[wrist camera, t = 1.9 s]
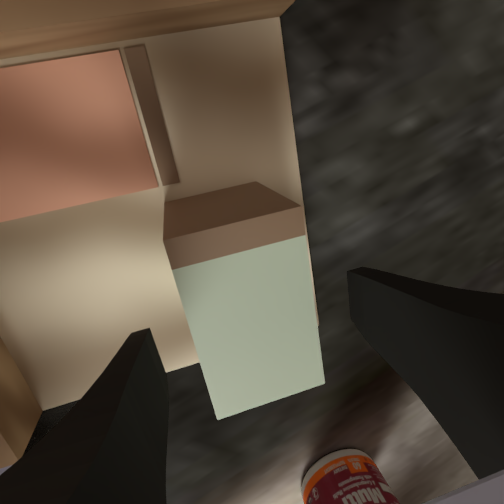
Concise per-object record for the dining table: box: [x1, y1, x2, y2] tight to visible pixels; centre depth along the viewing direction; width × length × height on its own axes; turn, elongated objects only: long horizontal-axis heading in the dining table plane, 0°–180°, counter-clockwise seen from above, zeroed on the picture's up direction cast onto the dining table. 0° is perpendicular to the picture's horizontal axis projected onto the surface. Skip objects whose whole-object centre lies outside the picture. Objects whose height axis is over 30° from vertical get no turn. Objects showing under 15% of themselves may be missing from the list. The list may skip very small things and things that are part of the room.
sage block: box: [163, 181, 325, 420], centre depth 15 cm, size 8×4×6 cm, turn 10°
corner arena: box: [0, 0, 319, 469], centre depth 14 cm, size 17×17×4 cm
